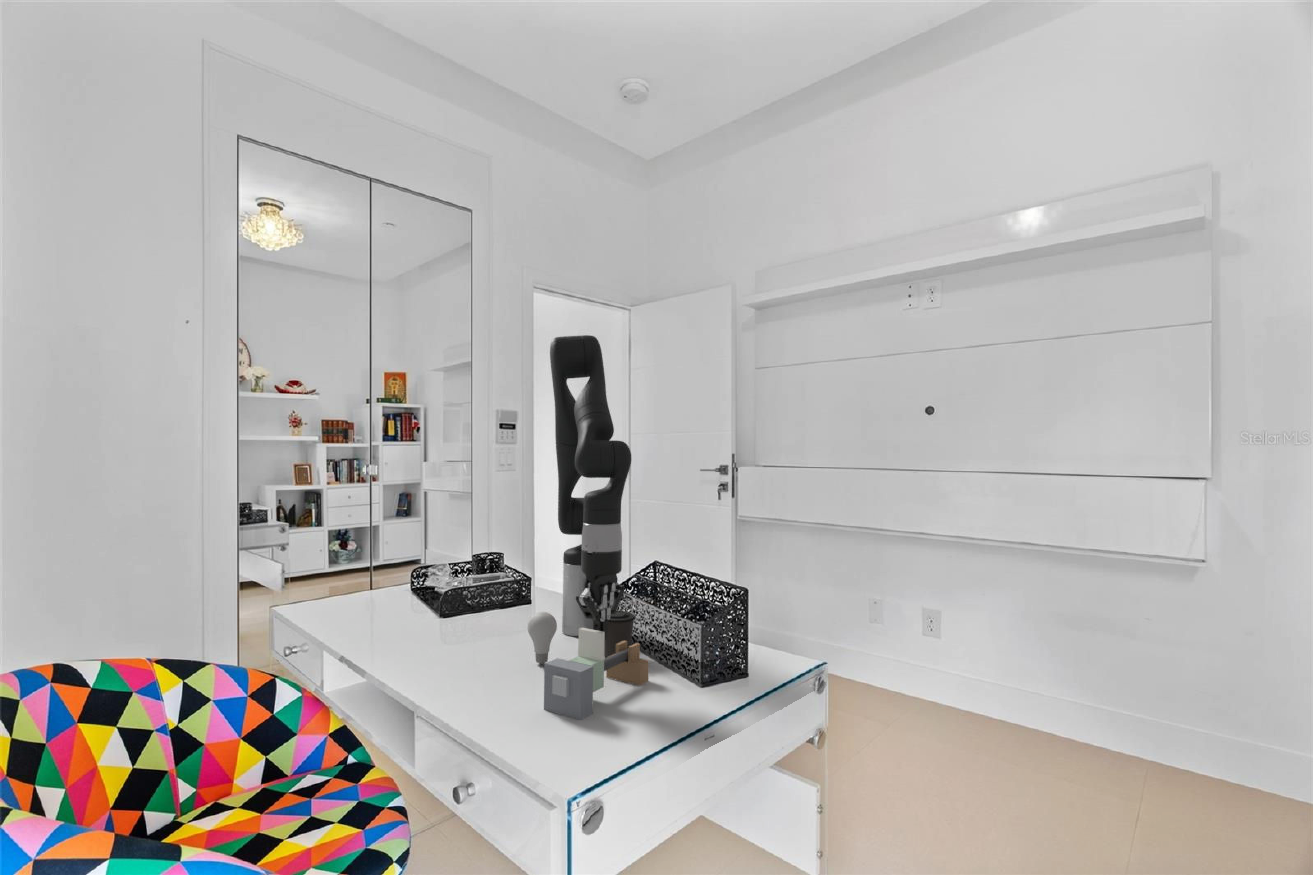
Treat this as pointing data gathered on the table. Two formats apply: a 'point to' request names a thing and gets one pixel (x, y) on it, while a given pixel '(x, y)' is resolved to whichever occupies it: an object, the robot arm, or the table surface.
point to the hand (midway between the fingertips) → (600, 640)
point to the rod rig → (589, 680)
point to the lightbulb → (542, 634)
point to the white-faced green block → (592, 654)
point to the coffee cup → (618, 631)
